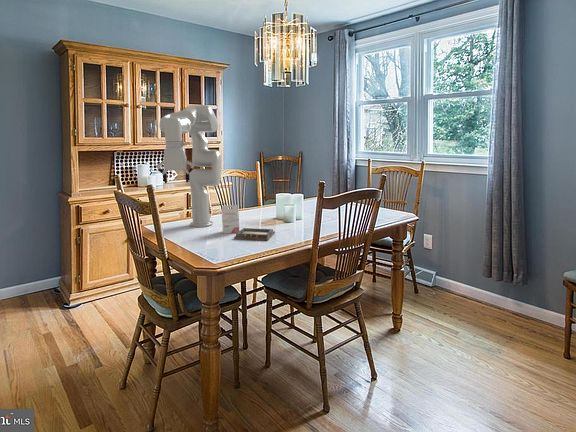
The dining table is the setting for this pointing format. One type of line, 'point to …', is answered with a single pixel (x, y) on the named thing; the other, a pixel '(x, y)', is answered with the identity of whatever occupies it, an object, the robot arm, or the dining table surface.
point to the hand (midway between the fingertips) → (176, 182)
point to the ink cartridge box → (230, 219)
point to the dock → (254, 234)
